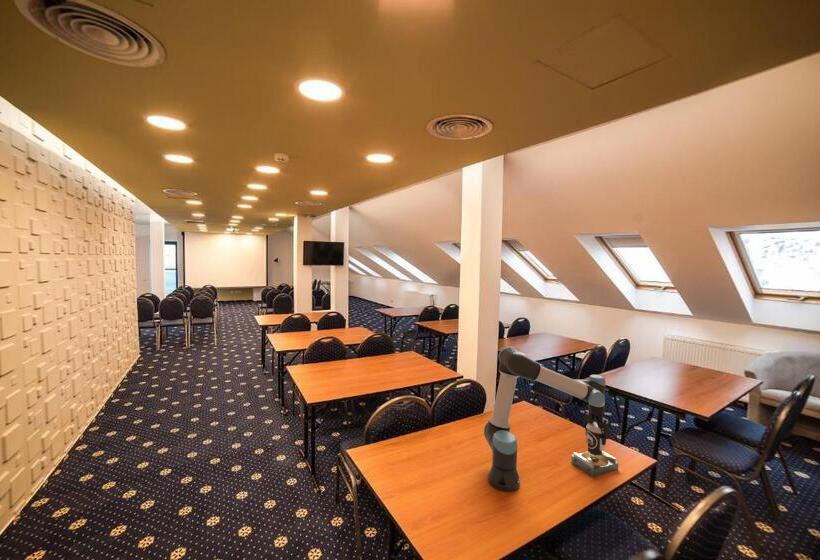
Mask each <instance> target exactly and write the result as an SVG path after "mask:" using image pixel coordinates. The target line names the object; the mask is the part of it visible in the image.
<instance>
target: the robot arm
mask: <svg viewBox="0 0 820 560" xmlns="http://www.w3.org/2000/svg"><path fill="white" fill-rule="evenodd" d="M498 361H499V365H498V372H499V373H500V375H499V381H498V386H497V389H496V390H497V391H496V395H495V401H494V405H493V411H492V415H491V416H490V417H489V418H488V422H486V424H484V427H483V435H484V438H485V440H486V442H487V443H488V446H489V447H490V449H491V452H492V464H491V467H490V471H489V472H488V475H487V478H488V484H490V485H491V486H492V487H493V488H495V489H497V490H498V491H501V492H506V493H507V492H514V491H515V492H516V491H517V490H518V489H519V488H520V486H521V479H520V476H519V473H518V468H517V467H518V466H517V464H518V463H517V462H518V440H517V437H516V435H515V434H514V433H512V432H510V431H511V427H512V426H511V423H510V422H509V421H510V417H511V416H510V415H511V410H512V406H513V400H514V397H515V396H514V395H515V392H516V391H515V390H516V385H517V381H518V378H523V379H526V380H529V381H531V382H535V381H537V382H539V383H541V384H544V385H547V386H549V387H551V388H553V389H556V390H559V391H560V392H561V391H562V392H563V393H566V394H568V395H570V396H573V397H575V398H578V399H579V400H582V401H585V402H587V403H588V409H587V410H586V409H585V410H583V413H584V414H583V421H582V428H583V429H584V430H585V436H586V438H585V439H586V440H585V442H586V443H587V444H588V439H587V428H586V426H587V424H588V423H593V422H596V423H597V425H598V427H599V428H600V429H601V432H602V431H604V433H602V434H601V438H600V451H605V449H606V448H605V447H606V445H607V440H609V439H611V438H610V437H611V434H610V426H609V424H610V423H609V422H610V419H606V418H605V416H604V414H605V408H606V407H605V402H606V401H605V400H606V386H607V385H606V378H605V377H604V376H601V375H599V374H591V375H589V378H588V379H585V378H584V379H580V378H579V379H577V378H576V379H574V378H570V377H568V376H566V375H564V374H562V373H558V372H557V371H554V370H552V369H549V368H546V367H545V366H543V365H541V363H540V362H538V361H535V360H534V359H532V358H531V357H529V356H528V355H526V354H525V353H524V352H522V351H520V349H518V348H517V347H515V346H505V347H503V348H502V349H500V351H499V353H498ZM603 428H604V429H603ZM602 429H603V430H602Z"/></svg>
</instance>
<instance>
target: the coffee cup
mask: <svg viewBox="0 0 820 560" xmlns="http://www.w3.org/2000/svg"><path fill="white" fill-rule="evenodd" d="M586 428H587V439H588V443H587V452H589V453H591V454H593V455H601V454H602V451H603V450H602V451H600V438H601V434H602V433H604V431H602V432H601V429H600V428H599V427H598V425H597V423H596V422H595V421H594V422H593V423H588V424H587V426H586ZM603 429H604V428H603ZM603 429H602V430H603Z"/></svg>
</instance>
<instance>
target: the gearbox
mask: <svg viewBox="0 0 820 560" xmlns="http://www.w3.org/2000/svg"><path fill="white" fill-rule="evenodd" d="M570 461H571V462H570V463H572V464H573V465H575V466H576V467H577V468H579V469H580V470H581V471H584V473H586V474H587V475H589V476H591V477H592V478H594V477H599V476H601V475H605V474H610V473H613V472H617V471H619V462H618V461H617V457H614V456H613V455H612V454H611V455H610V454H609V453H607V452H605V450H602V454H601V455H593V454H591V453H589V452H588V451H585V452H580V453H577V452H573V454H571V459H570Z"/></svg>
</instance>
